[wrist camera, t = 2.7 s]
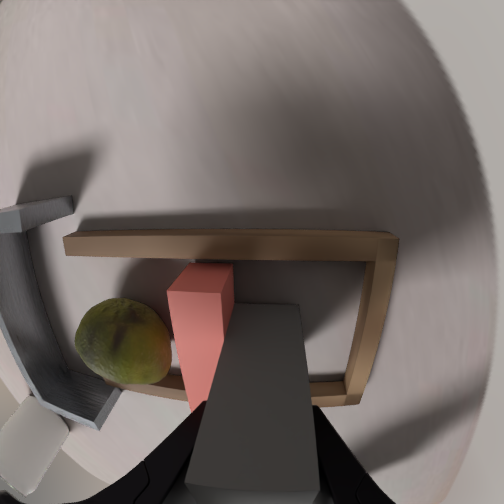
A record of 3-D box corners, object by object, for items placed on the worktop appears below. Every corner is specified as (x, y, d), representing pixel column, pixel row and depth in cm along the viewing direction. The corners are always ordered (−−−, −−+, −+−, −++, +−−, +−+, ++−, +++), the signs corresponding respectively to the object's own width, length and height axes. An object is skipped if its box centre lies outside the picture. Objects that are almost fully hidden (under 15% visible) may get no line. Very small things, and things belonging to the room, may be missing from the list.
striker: (291, 380, 14) (294, 529, 6) (204, 376, 14) (160, 514, 6) (300, 264, 12) (340, 450, 3) (189, 262, 12) (74, 413, 4)
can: (28, 385, 19) (-27, 451, 7) (73, 422, 20) (26, 498, 8) (29, 406, 21) (-14, 464, 9) (69, 438, 21) (31, 502, 10)
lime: (193, 346, 14) (165, 413, 10) (125, 352, 15) (88, 405, 10) (164, 273, 13) (114, 327, 8) (95, 288, 14) (41, 333, 9)
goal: (121, 393, 16) (99, 430, 13) (64, 375, 17) (40, 404, 13) (71, 195, 12) (19, 209, 8) (15, 204, 13) (-29, 218, 9)
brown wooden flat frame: (355, 390, 15) (359, 404, 13) (113, 373, 16) (106, 384, 15) (388, 232, 12) (399, 238, 10) (75, 231, 13) (62, 237, 12)
